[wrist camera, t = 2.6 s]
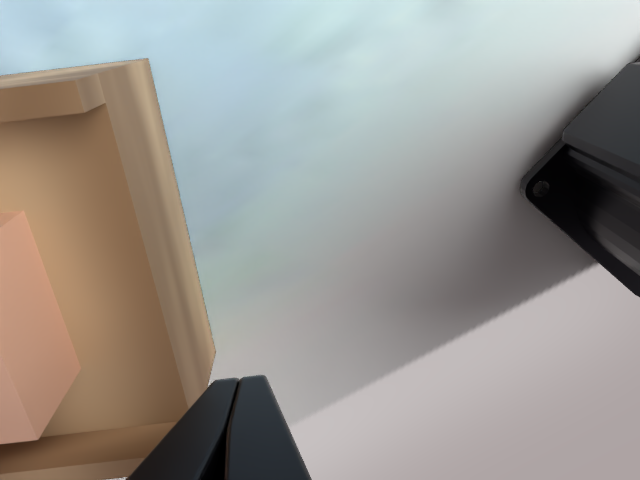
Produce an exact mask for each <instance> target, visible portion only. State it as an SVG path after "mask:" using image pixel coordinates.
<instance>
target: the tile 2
mask: <svg viewBox="0 0 640 480" xmlns="http://www.w3.org/2000/svg"><path fill="white" fill-rule="evenodd" d="M80 370H81V366H80V364H79V361H78V358H77V355H76V353H75V350H74V347H73V344H72V342H71V339H70V336H69V334H68V331H67V328H66V325H65V323H64V320H63V317H62V314H61V312H60V309H59V306H58V303H57V301H56V298H55V295H54V292H53V290H52V287H51V284H50V281H49V279H48V276H47V273H46V270H45V268H44V265H43V262H42V259H41V257H40V254H39V251H38V248H37V246H36V243H35V240H34V237H33V235H32V232H31V229H30V226H29V224H28V221H27V218H26V216H25V213H24V210H23V211H14V212H6V213H0V444H7V443H16V442H24V441H33V440H38V439H39V438H40V436H41V434H42V433H43V431H44V429H45V428H46V426H47V424H48V423H49V421H50V419H51V418H52V416H53V414H54V413H55V411H56V409H57V408H58V406H59V405H60V403H61V401H62V400H63V398H64V396H65V395H66V393H67V391H68V390H69V388H70V386H71V385H72V383H73V381H74V380H75V378H76V376H77V375H78V373H79V371H80Z"/></svg>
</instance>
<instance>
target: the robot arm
mask: <svg viewBox="0 0 640 480" xmlns="http://www.w3.org/2000/svg"><path fill="white" fill-rule="evenodd" d="M539 181H543V182H544V184H543V187H542V189H541V190H540V191H538V192H535V193H533V187H534V186H535V184H536V183H538V182H539ZM520 192H521V194H522V195H523V196H524V198H526V199H527V200H528V201H529V202H530V203H531V204H532V205H534V206H535V207H536V208H537V209H538V210H539V211H540V212H542V213H543V214H544V215H545V216H546V217H547V218H548V219H550V220H551V221H552V222H553V223H554V224H555V225H556V226H557V227H559V228H560V229H561V230H562V231H563V232H564V233H565V234H567V235H568V236H569V237H570V238H571V239H572V240H573V241H575V242H576V243H577V244H578V245H579V246H580V247H581V248H582V249H584V250H585V251H586V252H587V253H588V254H589V255H590V256H592V257H593V258H594V259H595V260H596V261H597V262H598V263H600V264H601V265H602V266H603V267H604V268H605V269H606V270H608V271H609V272H610V273H611V274H612V275H613V276H614V277H616V278H617V279H618V280H619V281H620V282H621V283H623V285H625V286H626V287H627V288H628V289H629V290H630V291H632V292H633V293H634V294H635V295H637V296H639V297H640V58H639V59H638V60H637V61H636V62H635V63H629V64H627V65H626V66H625V67H624V68H623V69H622V70H621V71H620V72H619V73H618V74H617V75H616V76H615V77H614V78H613V79H612V80H611V82H610V83H609V84H608V85H607V86H606V87H605V88H604V89H603V90H602V91H601V92H600V93H599V94H598V95H597V96H596V97H595V98H594V99H593V100H592V101H591V102H590V103H589V104H588V105H587V106H586V107H585V108H584V109H583V110H582V111H581V112H580V113H579V114H578V115H577V117H576V118H575V119H574V120H573V121H572V122H571V123H570V124H569V125H568V126H567V127H566V128H565V129H564V131H563V136H562V138H561V139H560V140H559V141H558V142H557V143H556V144H555V145H554V146H553V147H552V148H551V149H550V150H549V151H548V152H547V153H546V155H545V156H544V157H543V158H542V159H541V160H540V161H539V162H538V163H537V164H536V165H535V166H534V167H533V168H532V169H531V170H530V171H529V172H528V173H527V174H526V175H525V176H524V178H523V179H522V181H521V184H520ZM126 480H312V479H311V477H310V475H309V473H308V470H307V468H306V466H305V464H304V461H303V459H302V457H301V455H300V452H299V450H298V448H297V446H296V443H295V441H294V439H293V437H292V434H291V432H290V430H289V428H288V425H287V423H286V421H285V419H284V416H283V414H282V412H281V410H280V407H279V405H278V403H277V401H276V398H275V396H274V394H273V392H272V389H271V387H270V385H269V383H268V380H267V378H266V377H265V376H264V375H256V376H247V377H243V378H241V379H240V380H239V379H238V378H229V379H220V380H215V381H214V382H213V383H212V384H211V385H210V386H209V387H208V388H207V389H206V390H205V391H204V393H203V394H202V395H201V396H200V397H199V398H198V399H197V400H196V401H195V403H194V404H193V405H192V406H191V407H190V408H189V409H188V410H187V412H186V413H185V414H184V415H183V416H182V417H181V418H180V419H179V420H178V422H177V423H176V424H175V425H174V426H173V427H172V428H171V429H170V431H169V432H168V433H167V434H166V435H165V436H164V437H163V438H162V440H161V441H160V442H159V443H158V444H157V445H156V446H155V447H154V448H153V450H152V451H151V452H150V453H149V454H148V455H147V456H146V457H145V459H144V460H143V461H142V462H141V463H140V464H139V465H138V466H137V467H136V469H135V470H134V471H133V472H132V473H131V474H130V475H129V476H128V478H127V479H126Z"/></svg>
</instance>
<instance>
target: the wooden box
mask: <svg viewBox="0 0 640 480" xmlns="http://www.w3.org/2000/svg"><path fill="white" fill-rule="evenodd" d="M23 210H24V213H25V216H26V218H27V221H28V224H29V226H30V229H31V232H32V235H33V237H34V240H35V243H36V246H37V248H38V251H39V254H40V257H41V259H42V262H43V265H44V268H45V270H46V273H47V276H48V279H49V281H50V284H51V287H52V290H53V292H54V295H55V298H56V301H57V303H58V306H59V309H60V312H61V314H62V317H63V320H64V323H65V325H66V328H67V331H68V334H69V336H70V339H71V342H72V344H73V347H74V350H75V353H76V355H77V358H78V361H79V364H80V366H81V370H80V371H79V373H78V375H77V376H76V378H75V380H74V381H73V383H72V385H71V386H70V388H69V390H68V391H67V393H66V395H65V396H64V398H63V400H62V401H61V403H60V405H59V406H58V408H57V409H56V411H55V413H54V414H53V416H52V418H51V419H50V421H49V423H48V424H47V426H46V428H45V429H44V431H43V433H42V434H41V436H40V438H39V439H38V440H33V441H24V442H16V443H7V444H0V480H104V479H113V478H122V477H128V476H129V475H130V474H131V473H132V472H133V471H134V470H135V469H136V467H137V466H138V465H139V464H140V463H141V462H142V461H143V460H144V459H145V457H146V456H147V455H148V454H149V453H150V452H151V451H152V450H153V448H154V447H155V446H156V445H157V444H158V443H159V442H160V441H161V440H162V438H163V437H164V436H165V435H166V434H167V433H168V432H169V431H170V429H171V428H172V427H173V426H174V425H175V424H176V423H177V422H178V420H179V419H180V418H181V417H182V416H183V415H184V414H185V413H186V412H187V410H188V409H189V408H190V407H191V406H192V405H193V404H194V403H195V401H196V400H197V399H198V398H199V397H200V396H201V395H202V394H203V393H204V391H205V390H206V389H207V387H208V382H209V378H210V374H211V370H212V365H213V361H214V357H215V353H216V351H215V347H214V343H213V338H212V334H211V330H210V325H209V321H208V317H207V312H206V308H205V304H204V299H203V295H202V291H201V286H200V282H199V277H198V273H197V269H196V264H195V260H194V256H193V251H192V247H191V243H190V238H189V234H188V230H187V225H186V221H185V217H184V212H183V208H182V204H181V199H180V195H179V190H178V186H177V182H176V177H175V173H174V169H173V164H172V160H171V156H170V151H169V147H168V143H167V138H166V134H165V130H164V125H163V121H162V117H161V112H160V108H159V103H158V99H157V95H156V90H155V86H154V82H153V77H152V73H151V69H150V64H149V60H148V58H146V59H138V60H129V61H121V62H112V63H104V64H95V65H87V66H78V67H69V68H61V69H52V70H44V71H35V72H27V73H18V74H10V75H1V76H0V213H6V212H14V211H23Z"/></svg>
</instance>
